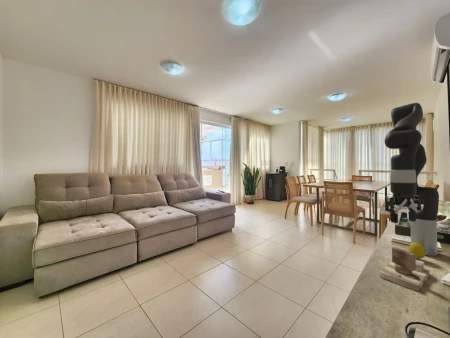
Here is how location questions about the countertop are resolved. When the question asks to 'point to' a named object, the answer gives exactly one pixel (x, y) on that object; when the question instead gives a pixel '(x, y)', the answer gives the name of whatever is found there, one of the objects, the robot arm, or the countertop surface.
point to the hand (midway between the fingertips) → (403, 221)
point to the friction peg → (404, 262)
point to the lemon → (417, 250)
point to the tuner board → (406, 280)
